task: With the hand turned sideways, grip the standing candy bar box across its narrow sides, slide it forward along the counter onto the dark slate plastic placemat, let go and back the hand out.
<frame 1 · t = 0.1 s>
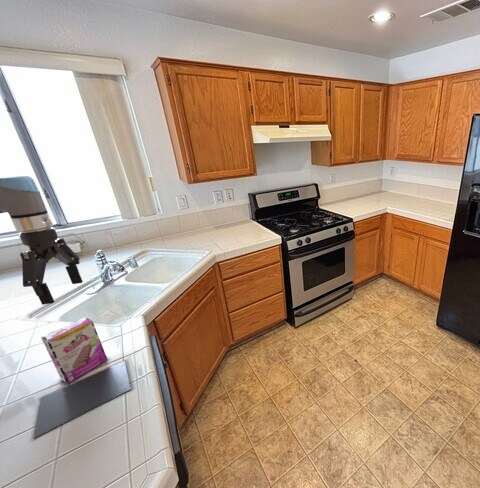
hand: (64, 292, 85), 25 cm above the countertop, tool pointing down, fingers open, 13 cm apart
slate placemat: (86, 393, 77), on the countertop
candy bar box: (86, 370, 86), on the countertop
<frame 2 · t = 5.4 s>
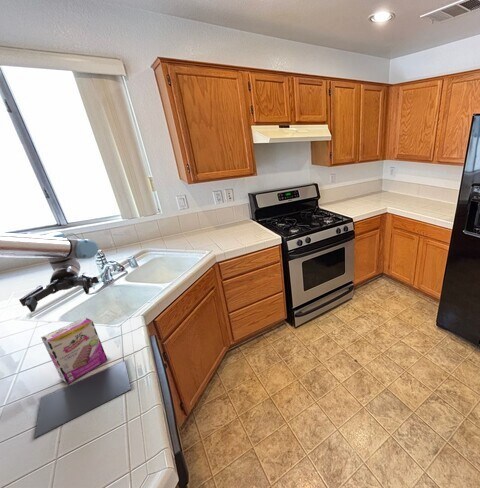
hand: (59, 299, 86), 22 cm above the countertop, tool horizontal, fingers open, 13 cm apart
nothing on the countertop moved.
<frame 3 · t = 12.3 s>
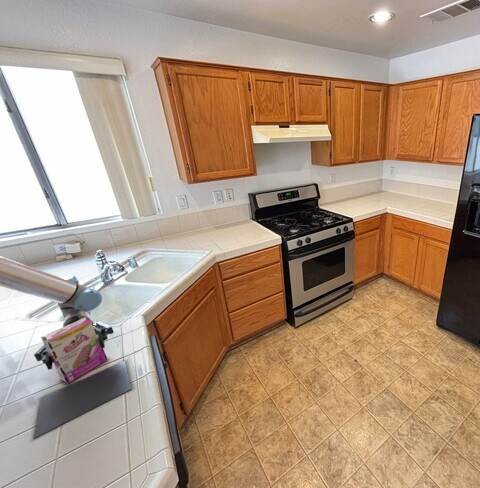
hand: (76, 354, 81), 8 cm above the countertop, tool horizontal, fingers closed on candy bar box, 12 cm apart
candy bar box: (86, 370, 86), on the countertop, touching gripper
when the fingers open (9 cm above the countertop, at t = 17.7 s): candy bar box stays where it is, resting on slate placemat.
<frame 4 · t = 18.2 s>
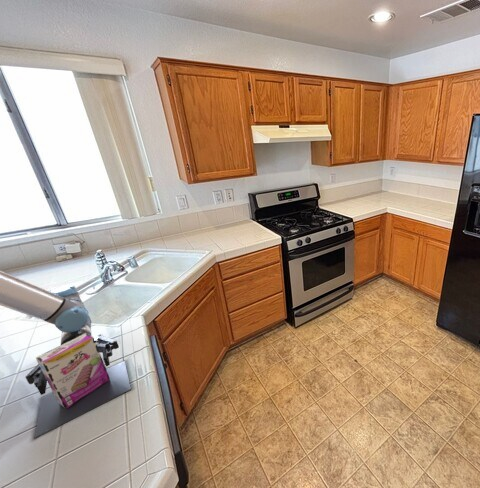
hand: (75, 375, 72), 9 cm above the countertop, tool horizontal, fingers open, 13 cm apart
candy bar box: (86, 391, 78), resting on slate placemat
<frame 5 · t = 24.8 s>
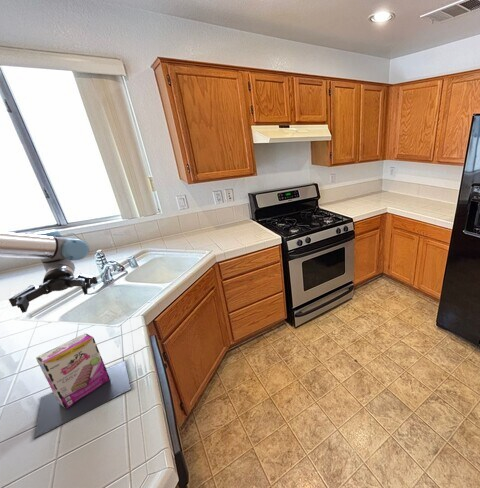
hand: (55, 299, 79), 26 cm above the countertop, tool horizontal, fingers open, 13 cm apart
nothing on the countertop moved.
at the end: candy bar box inside the target area on the slate placemat (1.0 cm from its centre), point 0.0 cm above the slate placemat's base; candy bar box tilted 0°; the gripper is holding nothing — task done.
